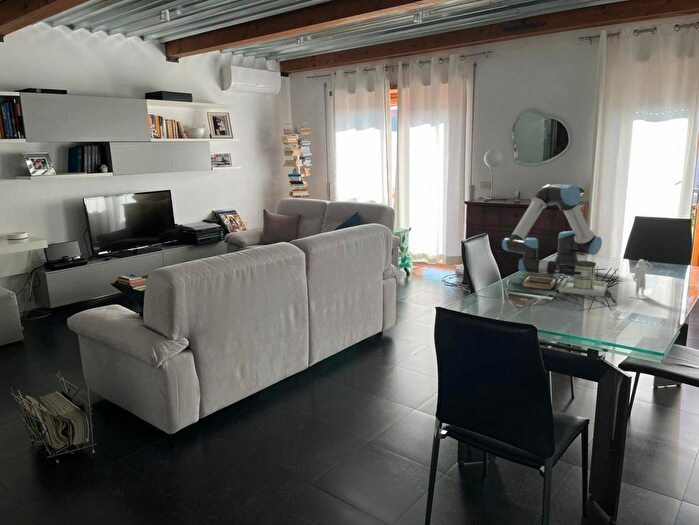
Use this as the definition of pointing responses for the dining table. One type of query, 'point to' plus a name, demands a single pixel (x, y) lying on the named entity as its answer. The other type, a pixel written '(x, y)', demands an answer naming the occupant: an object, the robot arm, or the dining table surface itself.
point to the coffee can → (584, 281)
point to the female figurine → (640, 279)
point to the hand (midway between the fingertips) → (589, 271)
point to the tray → (568, 288)
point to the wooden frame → (539, 285)
